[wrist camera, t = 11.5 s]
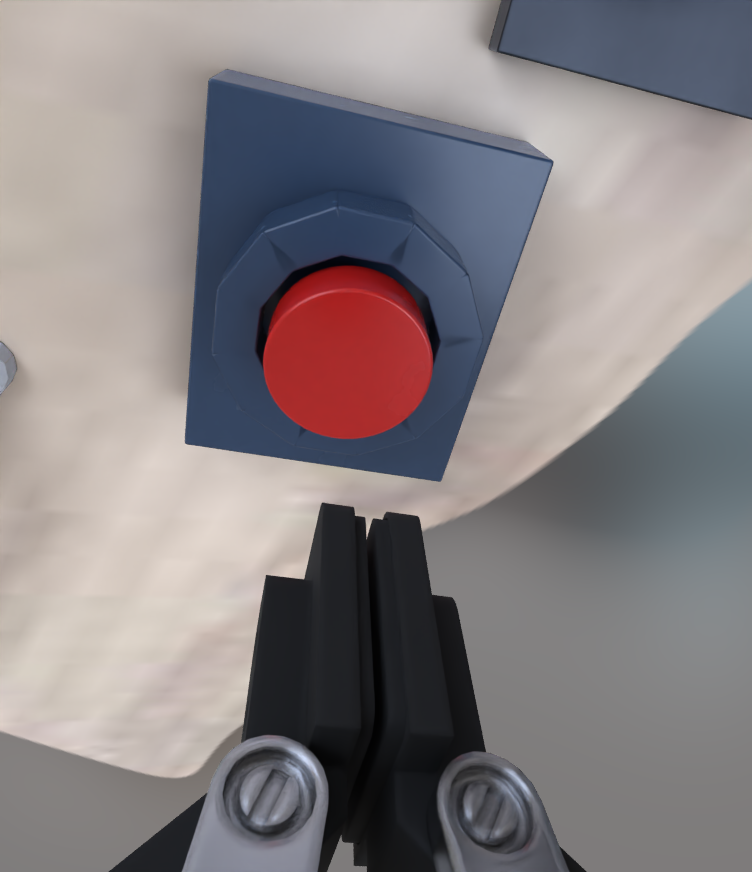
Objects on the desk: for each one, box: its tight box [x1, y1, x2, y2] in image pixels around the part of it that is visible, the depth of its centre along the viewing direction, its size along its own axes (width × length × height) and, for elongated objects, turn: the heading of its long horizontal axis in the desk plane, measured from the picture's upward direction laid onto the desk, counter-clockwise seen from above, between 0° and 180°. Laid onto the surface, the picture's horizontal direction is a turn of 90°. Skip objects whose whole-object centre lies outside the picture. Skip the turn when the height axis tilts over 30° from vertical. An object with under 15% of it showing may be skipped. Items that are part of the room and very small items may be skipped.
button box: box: [185, 69, 553, 482], centre depth 19 cm, size 11×9×4 cm
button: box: [263, 266, 433, 439], centre depth 17 cm, size 4×4×2 cm
